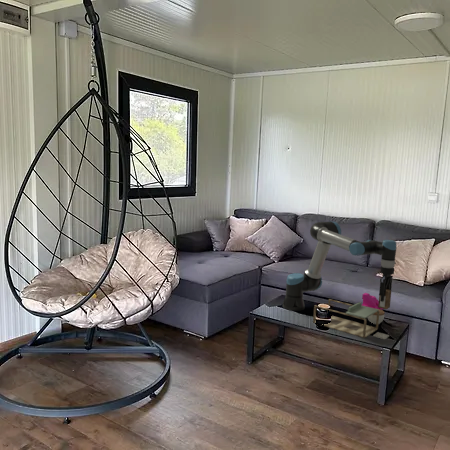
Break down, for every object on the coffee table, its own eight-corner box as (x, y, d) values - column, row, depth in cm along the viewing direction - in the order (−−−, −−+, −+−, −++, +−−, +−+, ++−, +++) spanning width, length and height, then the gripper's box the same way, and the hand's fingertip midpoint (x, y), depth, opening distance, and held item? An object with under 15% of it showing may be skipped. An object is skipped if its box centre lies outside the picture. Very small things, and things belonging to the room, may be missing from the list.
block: (386, 309, 260) (388, 291, 258) (378, 307, 263) (379, 289, 261) (389, 307, 263) (391, 290, 262) (381, 305, 267) (383, 288, 265)
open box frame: (312, 322, 284) (314, 305, 282) (328, 315, 299) (329, 298, 297) (364, 337, 262) (366, 319, 260) (377, 329, 277) (379, 311, 276)
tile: (373, 336, 265) (373, 335, 265) (377, 333, 271) (377, 332, 271) (384, 339, 261) (384, 338, 261) (389, 336, 266) (389, 335, 266)
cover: (345, 313, 269) (346, 308, 268) (359, 306, 284) (360, 301, 283) (364, 318, 261) (365, 313, 260) (378, 310, 276) (378, 305, 276)
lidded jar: (384, 326, 282) (386, 312, 281) (367, 324, 284) (368, 310, 283) (382, 320, 293) (383, 306, 291) (365, 318, 295) (366, 305, 294)
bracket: (361, 308, 317) (362, 294, 315) (367, 305, 325) (368, 291, 323) (378, 312, 309) (379, 298, 308) (383, 309, 317) (384, 295, 316)
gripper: (388, 270, 251) (384, 310, 254) (399, 265, 264) (396, 303, 267) (375, 267, 255) (371, 307, 259) (387, 263, 269) (383, 300, 272)
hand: (384, 305), depth 263 cm, fingers closed on block, 5 cm apart
